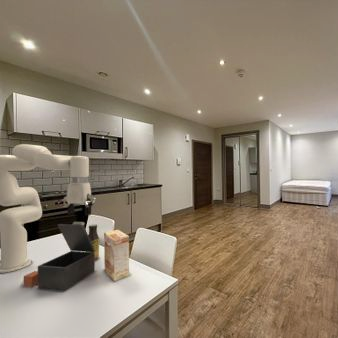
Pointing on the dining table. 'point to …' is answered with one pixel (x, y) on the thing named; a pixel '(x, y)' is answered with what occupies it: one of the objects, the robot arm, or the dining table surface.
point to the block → (31, 279)
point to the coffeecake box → (116, 254)
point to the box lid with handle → (76, 237)
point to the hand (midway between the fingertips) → (79, 214)
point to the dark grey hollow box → (66, 270)
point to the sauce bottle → (94, 239)
